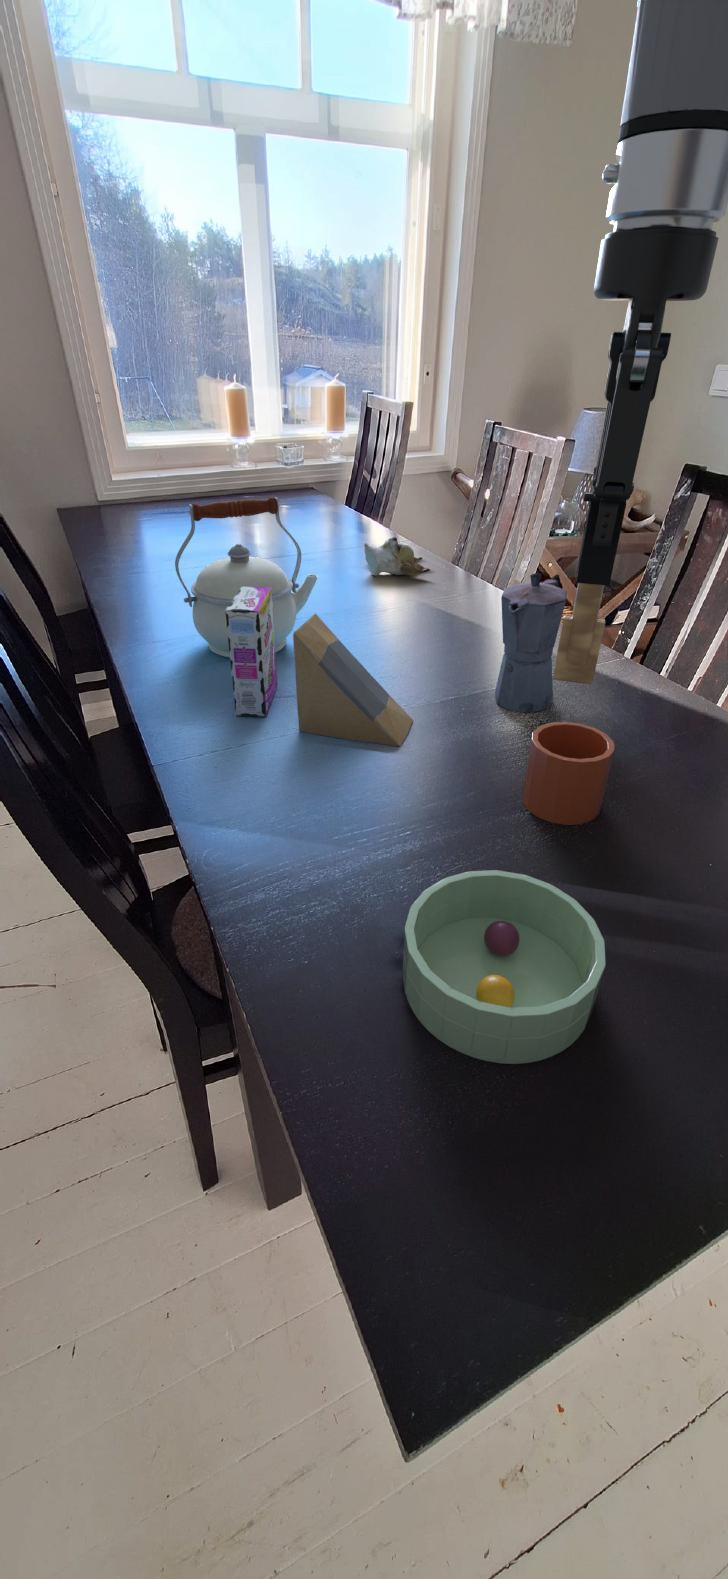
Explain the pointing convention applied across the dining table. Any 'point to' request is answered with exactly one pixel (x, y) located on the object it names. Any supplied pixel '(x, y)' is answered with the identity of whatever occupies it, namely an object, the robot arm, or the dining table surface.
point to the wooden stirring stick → (580, 637)
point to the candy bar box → (252, 650)
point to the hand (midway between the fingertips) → (592, 577)
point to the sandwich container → (341, 691)
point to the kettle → (242, 578)
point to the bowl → (502, 966)
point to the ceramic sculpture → (393, 558)
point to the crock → (567, 772)
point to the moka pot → (529, 643)
